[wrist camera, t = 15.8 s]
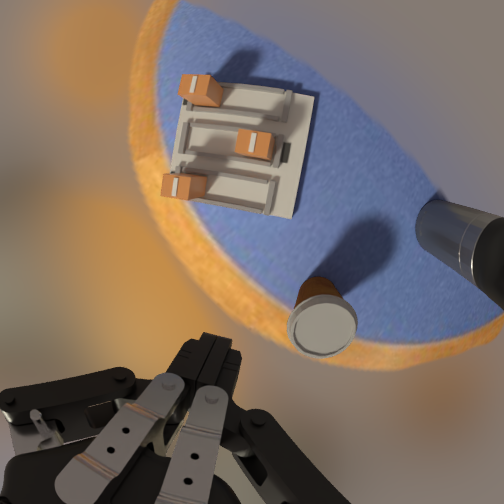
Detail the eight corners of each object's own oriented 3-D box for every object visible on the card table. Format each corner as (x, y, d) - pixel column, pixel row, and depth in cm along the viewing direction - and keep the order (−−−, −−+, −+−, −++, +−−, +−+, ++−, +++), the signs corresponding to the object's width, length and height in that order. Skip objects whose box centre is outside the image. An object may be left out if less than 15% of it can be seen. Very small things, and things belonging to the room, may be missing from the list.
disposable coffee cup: (277, 291, 46) (271, 329, 34) (321, 255, 43) (330, 284, 31) (312, 328, 47) (316, 371, 35) (355, 295, 44) (372, 333, 32)
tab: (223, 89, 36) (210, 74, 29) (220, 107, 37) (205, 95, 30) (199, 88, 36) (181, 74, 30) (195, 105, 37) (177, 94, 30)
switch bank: (313, 99, 36) (314, 95, 34) (291, 217, 42) (291, 220, 40) (190, 85, 38) (184, 80, 36) (170, 194, 44) (164, 196, 41)
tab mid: (275, 140, 37) (271, 133, 30) (271, 160, 38) (266, 157, 31) (248, 136, 38) (238, 128, 31) (244, 155, 39) (234, 151, 32)
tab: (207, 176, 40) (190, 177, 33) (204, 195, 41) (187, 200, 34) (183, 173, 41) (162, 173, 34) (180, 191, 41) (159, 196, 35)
